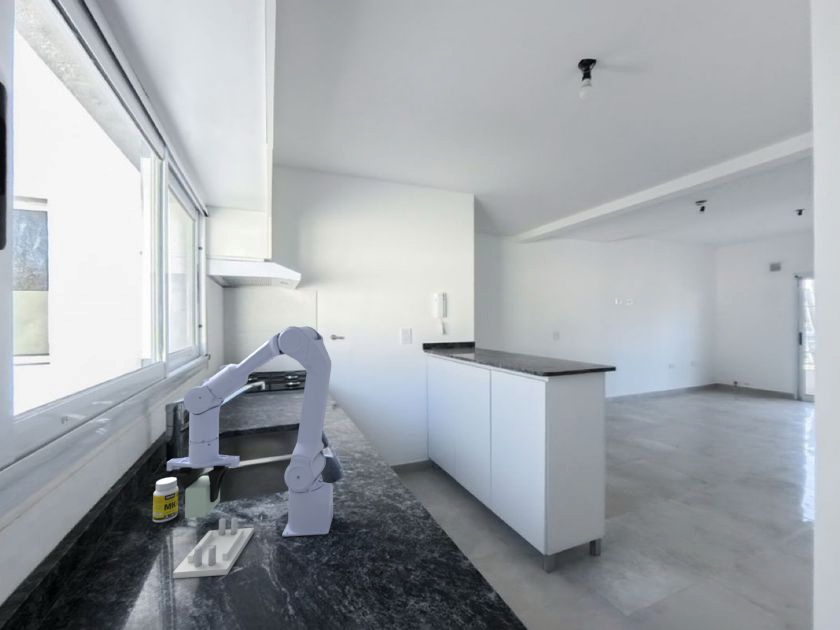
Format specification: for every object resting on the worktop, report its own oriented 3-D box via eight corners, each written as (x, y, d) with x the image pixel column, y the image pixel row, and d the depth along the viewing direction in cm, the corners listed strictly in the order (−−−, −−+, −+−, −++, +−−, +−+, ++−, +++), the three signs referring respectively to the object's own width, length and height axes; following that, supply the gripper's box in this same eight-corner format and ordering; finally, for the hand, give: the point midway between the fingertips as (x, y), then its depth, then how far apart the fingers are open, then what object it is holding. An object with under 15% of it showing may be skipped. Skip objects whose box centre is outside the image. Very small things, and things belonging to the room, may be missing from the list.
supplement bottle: (164, 524, 79) (165, 486, 80) (147, 522, 80) (148, 484, 81) (182, 513, 84) (183, 477, 84) (166, 511, 85) (167, 475, 85)
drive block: (219, 501, 83) (220, 475, 83) (204, 517, 76) (205, 488, 76) (201, 502, 83) (202, 475, 83) (185, 518, 76) (185, 489, 76)
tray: (253, 532, 76) (253, 513, 76) (226, 574, 63) (227, 551, 63) (209, 535, 75) (209, 515, 75) (172, 578, 62) (173, 554, 62)
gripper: (244, 432, 85) (244, 490, 84) (180, 435, 83) (179, 494, 83) (232, 442, 78) (231, 505, 77) (161, 444, 76) (160, 509, 76)
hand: (203, 500), depth 79 cm, fingers closed on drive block, 4 cm apart
